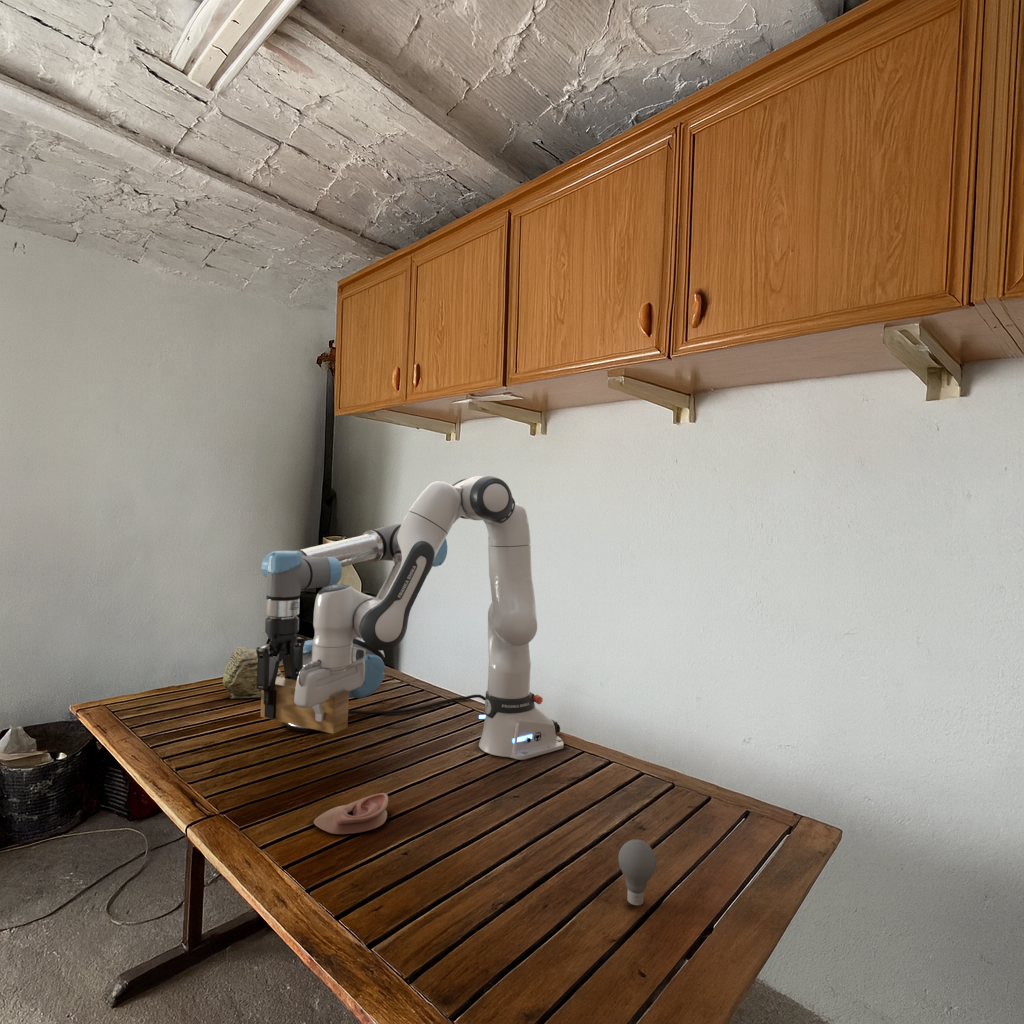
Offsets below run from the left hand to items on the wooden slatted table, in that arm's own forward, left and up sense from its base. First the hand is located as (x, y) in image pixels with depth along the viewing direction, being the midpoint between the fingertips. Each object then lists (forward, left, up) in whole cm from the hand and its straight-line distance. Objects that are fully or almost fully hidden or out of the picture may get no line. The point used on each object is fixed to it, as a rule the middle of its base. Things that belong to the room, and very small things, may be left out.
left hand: (278, 713), depth 150 cm
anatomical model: (+5, +35, -11) cm, 37 cm away
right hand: (-4, +15, +2) cm, 15 cm away
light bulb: (-10, +89, -11) cm, 91 cm away
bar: (-2, +7, -1) cm, 7 cm away
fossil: (-22, -49, -11) cm, 55 cm away
